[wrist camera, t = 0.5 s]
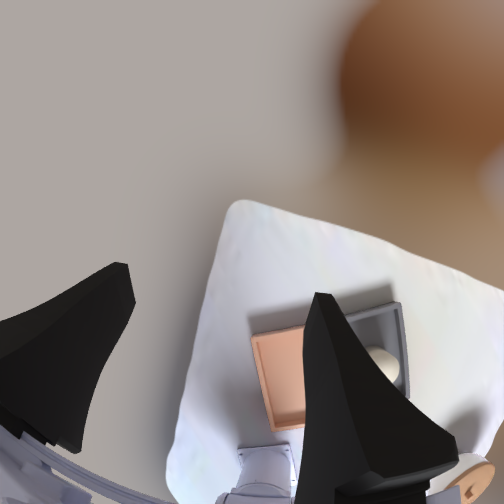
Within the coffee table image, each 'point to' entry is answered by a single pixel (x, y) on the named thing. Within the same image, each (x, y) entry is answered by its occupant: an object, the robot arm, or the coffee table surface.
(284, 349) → the tray
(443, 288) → the coffee table surface
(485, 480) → the lidded bowl
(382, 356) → the beige rounded cylinder
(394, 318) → the tray
